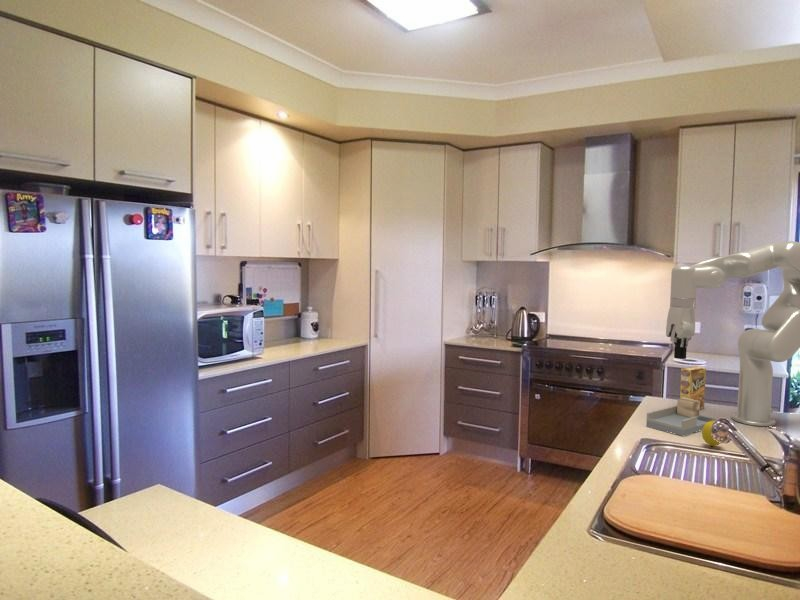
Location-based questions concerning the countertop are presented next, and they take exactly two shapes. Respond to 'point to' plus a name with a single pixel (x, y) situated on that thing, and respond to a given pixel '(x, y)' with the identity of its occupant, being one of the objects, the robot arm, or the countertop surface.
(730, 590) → the countertop surface
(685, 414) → the block
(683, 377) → the candy box
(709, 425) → the lemon
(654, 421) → the pale blue tray
